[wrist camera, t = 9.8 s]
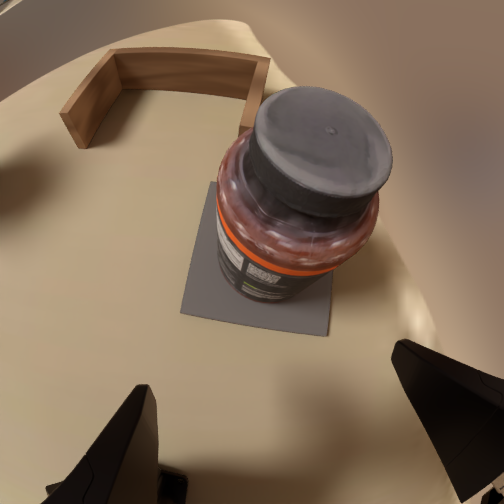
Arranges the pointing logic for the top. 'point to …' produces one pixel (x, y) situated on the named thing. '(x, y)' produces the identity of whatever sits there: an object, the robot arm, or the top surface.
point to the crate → (164, 82)
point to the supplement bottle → (298, 192)
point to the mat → (237, 306)
